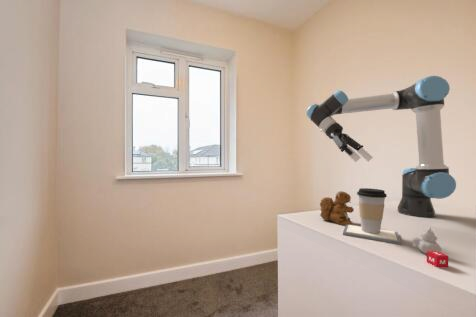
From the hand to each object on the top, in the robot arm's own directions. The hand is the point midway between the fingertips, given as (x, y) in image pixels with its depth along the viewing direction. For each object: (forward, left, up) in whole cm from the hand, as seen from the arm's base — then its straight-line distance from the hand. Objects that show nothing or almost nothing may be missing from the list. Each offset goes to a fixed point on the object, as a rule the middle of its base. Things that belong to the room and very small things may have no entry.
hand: (364, 159), depth 99 cm
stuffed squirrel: (+10, +6, -27) cm, 30 cm away
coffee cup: (-3, +17, -26) cm, 32 cm away
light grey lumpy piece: (-17, +28, -27) cm, 42 cm away
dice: (-18, +36, -27) cm, 48 cm away
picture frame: (-3, +18, -27) cm, 32 cm away
